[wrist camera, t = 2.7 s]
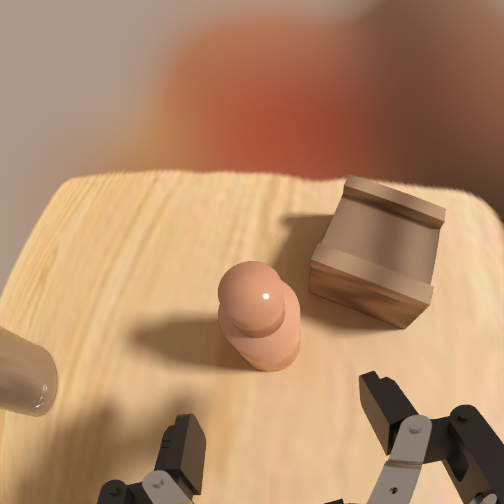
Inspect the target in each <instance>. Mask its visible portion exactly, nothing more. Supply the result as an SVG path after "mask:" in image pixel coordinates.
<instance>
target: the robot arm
mask: <svg viewBox="0 0 504 504" xmlns="http://www.w3.org/2000/svg"><path fill="white" fill-rule="evenodd" d="M359 389H360V401H361V405H362V408H363V410H364V412H365V414H366V416H367V418H368V420H369V422H370V424H371V426H372V428H373V430H374V432H375V434H376V436H377V438H378V440H379V441H380V443H381V445H382V447H383V450H384V452H385V454H386V456H387V455H390V457H389V459H388V461H386V463H385V464H384V467H383V469H382V471H381V474H380V476H379V478H378V481H377V483H376V485H375V487H374V489H373V492H372V494H371V496H370V498H369V500H368V502H367V504H409V503H410V500H411V498H412V495H413V492H414V489H415V486H416V483H417V480H418V477H419V474H420V471H421V467H422V464H426V463H431V462H436V461H440V460H441V461H442V463H443V465H444V466H445V468H446V470H447V472H448V474H449V476H450V478H451V480H452V482H453V484H454V486H455V487H456V489H457V491H458V493H459V495H460V497H461V499H462V501H463V503H464V504H504V444H503V443H502V441H501V440H500V439H499V437H498V436H497V435H496V433H495V432H494V431H493V429H492V428H491V427H490V425H489V424H488V423H487V422H486V420H485V419H484V418H483V416H482V415H481V414H480V413H479V411H478V410H477V409H476V408H475V407H474V406H471V405H460V406H458V407H456V408H455V409H453V410H452V412H451V413H450V416H448V417H443V418H439V419H429V418H428V417H426V416H423V415H419V414H418V413H417V411H416V410H415V408H414V407H413V406H412V404H411V403H410V401H409V400H408V399H407V397H406V396H405V395H404V393H403V392H402V390H401V389H400V388H399V386H398V385H397V383H396V382H395V381H394V380H392V379H390V378H388V377H384V378H382V379H380V378H379V377H378V375H377V374H376V372H375V371H371V372H368V373H366V374H363V375H360V376H359ZM56 391H57V373H56V367H55V364H54V361H53V359H52V357H51V355H50V354H49V353H48V352H47V350H45V349H44V348H42V347H40V346H38V345H36V344H34V343H32V342H30V341H28V340H26V339H24V338H22V337H20V336H18V335H16V334H14V333H12V332H10V331H8V330H6V329H4V328H3V327H1V326H0V409H3V410H7V411H11V412H16V413H20V414H25V415H30V416H35V417H37V416H41V415H43V414H45V413H46V412H47V411H48V410H49V409H50V407H51V406H52V404H53V401H54V399H55V395H56ZM160 448H161V449H160V450H159V454H158V457H157V461H156V465H155V469H154V471H153V472H150V473H149V474H147V475H146V476H145V477H144V479H143V482H139V483H135V484H130V485H126V484H125V483H124V482H122V481H120V480H111V481H108V482H107V483H105V484H104V485H103V487H102V489H101V492H100V495H99V498H98V502H97V504H194V503H193V502H192V498H193V495H201V488H202V478H203V469H204V459H205V450H206V438H205V434H204V432H203V430H202V429H201V427H200V425H199V423H198V421H197V419H196V417H195V416H194V414H184V415H178V416H177V418H176V422H175V425H173V426H169V427H168V429H167V430H166V431H165V432H164V435H163V439H162V442H161V446H160ZM325 504H344V503H343V499H339V500H336V501H332V502H329V503H325ZM348 504H355V503H348Z"/></svg>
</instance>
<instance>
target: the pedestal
mask: <svg viewBox="0 0 504 504" xmlns="http://www.w3.org/2000/svg"><path fill="white" fill-rule="evenodd" d="M445 211H446V209H445V208H442V207H440V206H437V205H435V204H432V203H430V202H427V201H425V200H422V199H420V198H417V197H414V196H412V195H409V194H406V193H403V192H401V191H398V190H395V189H392V188H389V187H386V186H384V185H381V184H378V183H375V182H372V181H369V180H366V179H362V178H359V177H356V176H353V175H350V174H349V175H348V177H347V180H346V182H345V184H344V190H343V195H342V197H341V200H340V202H339V204H338V207H337V209H336V211H335V214H334V216H333V218H332V220H331V223H330V225H329V227H328V229H327V231H326V234H325V236H324V238H323V240H322V242H321V244H320V243H318V244H317V246H316V249H315V251H314V253H313V255H312V257H311V259H310V280H309V292H311V293H313V294H316V295H318V296H321V297H323V298H326V299H328V300H331V301H333V302H336V303H338V304H341V305H344V306H346V307H349V308H351V309H354V310H356V311H359V312H361V313H364V314H367V315H369V316H372V317H374V318H377V319H379V320H382V321H385V322H387V323H390V324H392V325H395V326H398V327H400V328H403V329H406V328H407V327H408V326H409V325H410V324H411V323H412V322H413V321H414V320H415V319H416V318H417V317H418V316H419V315H420V314H421V313H422V312H423V311H424V310H425V309H426V308H427V307H428V306H429V305H430V302H431V298H432V294H433V289H434V286H431V285H430V284H431V279H432V275H433V269H434V264H435V259H436V253H437V247H438V240H439V233H440V228H441V227H442V225H443V223H444V221H445Z"/></svg>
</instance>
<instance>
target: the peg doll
mask: <svg viewBox="0 0 504 504" xmlns="http://www.w3.org/2000/svg"><path fill="white" fill-rule="evenodd" d="M218 298H219V302H220V305H219V310H218V321H219V326H220V329H221V331H222V333H223V335H224V336H225V337H226V339H227V340H228V341H229V342H230V343H231V344H232V345H233V346H234V347H235V349H236V350H237V351H238V352H239V353H240V354H241V355H242V356H243V357H244V358H245V359H246V360H247V361H248V362H249V363H250V364H251V365H252V366H253V367H255V368H256V369H258V370H261V371H265V372H275V371H279V370H282V369H284V368H286V367H288V366H289V365H290V364H291V363H292V362H293V361H294V360H295V358H296V357H297V355H298V352H299V349H300V306H299V302H298V299H297V297H296V294H295V293H294V291H293V290H292V289H291V288H290V287H289V286H288V285H287V284H286V283H285V282H283V281H282V280H281V279H280V277H279V275H278V274H277V272H276V271H275V270H274V269H273V268H272V267H270V266H269V265H267V264H265V263H262V262H257V261H248V262H243V263H240V264H237V265H235V266H234V267H232V268H231V269H229V270H228V271H227V272H226V273H225V275H224V276H223V277H222V279H221V281H220V284H219V287H218Z"/></svg>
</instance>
